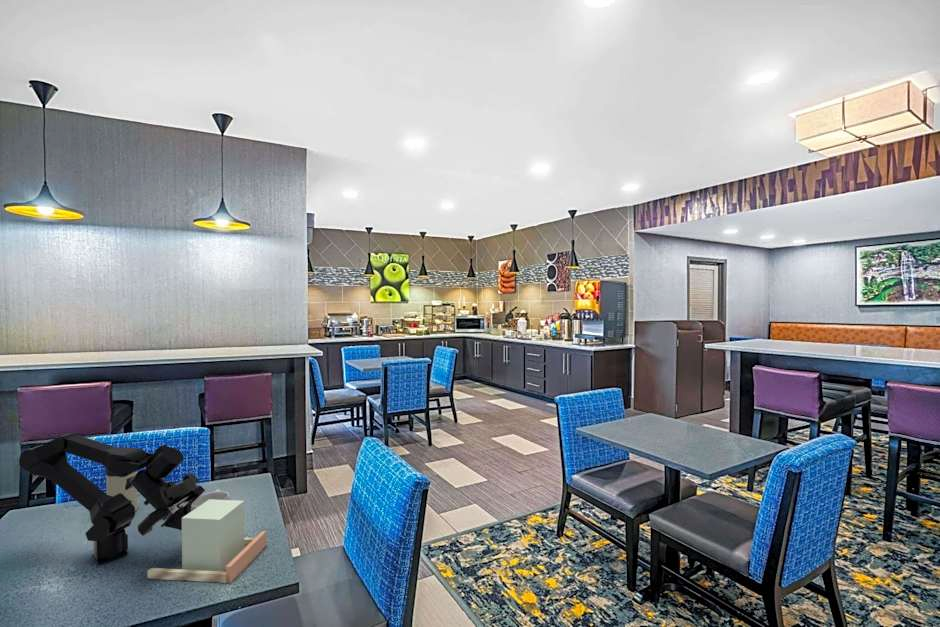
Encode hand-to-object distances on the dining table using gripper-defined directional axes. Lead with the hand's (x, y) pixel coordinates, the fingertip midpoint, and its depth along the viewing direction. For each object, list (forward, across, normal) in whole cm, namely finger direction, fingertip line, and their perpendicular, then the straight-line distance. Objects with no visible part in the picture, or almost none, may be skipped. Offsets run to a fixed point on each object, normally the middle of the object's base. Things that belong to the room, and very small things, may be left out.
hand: (195, 531), depth 123 cm
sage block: (+9, 0, +2) cm, 9 cm away
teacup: (-1, +21, +12) cm, 24 cm away
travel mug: (-24, +24, +35) cm, 48 cm away
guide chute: (+8, 0, +2) cm, 9 cm away
